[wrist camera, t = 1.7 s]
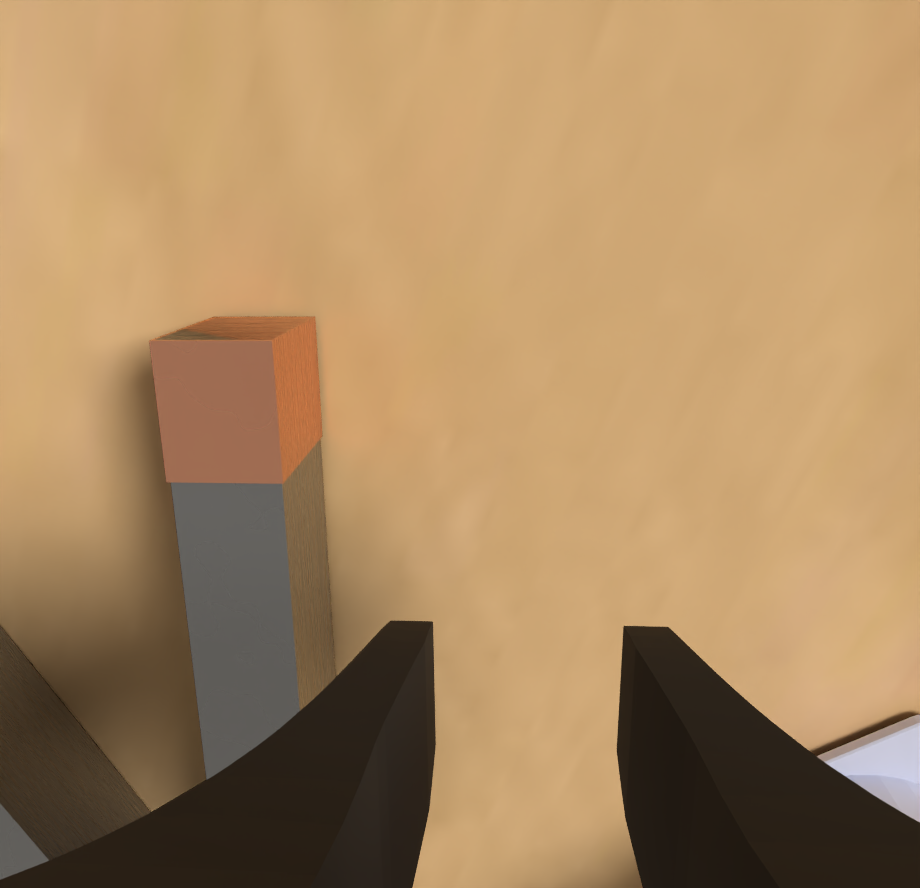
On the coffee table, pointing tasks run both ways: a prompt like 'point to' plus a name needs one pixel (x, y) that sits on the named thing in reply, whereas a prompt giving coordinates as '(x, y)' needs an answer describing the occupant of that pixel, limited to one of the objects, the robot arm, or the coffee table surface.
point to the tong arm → (248, 520)
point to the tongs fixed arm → (50, 773)
